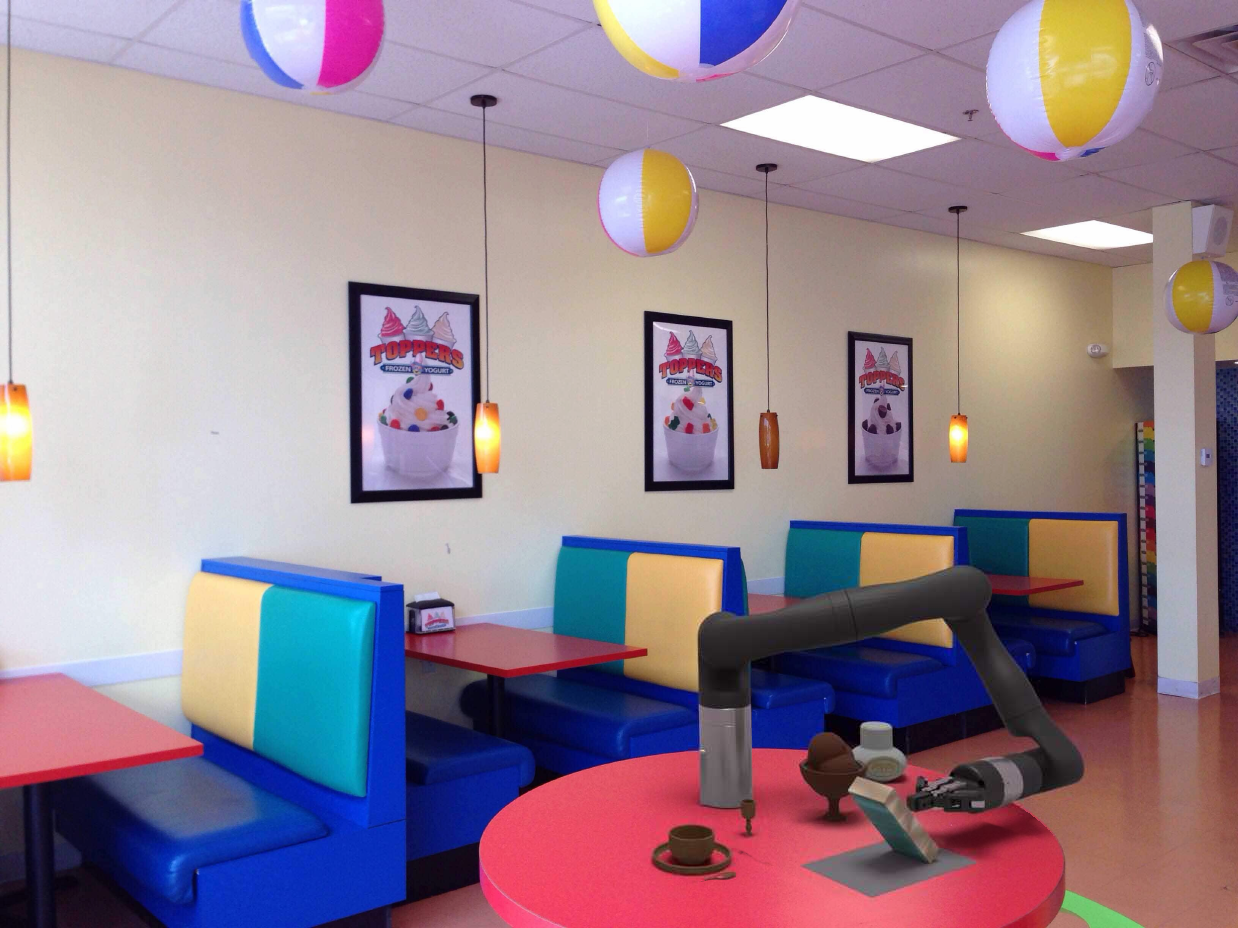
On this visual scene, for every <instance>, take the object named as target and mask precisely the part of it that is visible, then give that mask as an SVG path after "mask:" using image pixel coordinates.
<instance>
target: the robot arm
mask: <svg viewBox="0 0 1238 928" xmlns="http://www.w3.org/2000/svg"><path fill="white" fill-rule="evenodd" d="M992 595H993V587H992V583H991V580H990V579H989V578H988V576H987V574H985V573H984V572H983V571H982V570H980V569H978V568H976V567H973V566H971V565H964V564H959V565H953V566H950V567H947V568H945V569H941V570H939V571H938V570H937V571H936V572H935V571H934V572H932V573H929V574H925V575H921V576H918V577H915V578H911V579H906V580H901V581H895V582H885V583H877V584H870V585H869V584H868V585H863V586H858V587H857V586H856V587H849V588H844V589H838V590H835V591H834V590H833V591H829V592H828V591H827V592H824V593H821V594H817V595H814V596H810V597H807V598H805V599H802V600H800V601H797V602H794V603H792V604H790V605H788V606H785V607H782V608H779V609H777V610H772V611H769V612H762V613H758V614H756V613H755V614H748V615H740V616H739V615H737V614H735V613H734V612H733V613H732V612H729V611H722V610H721V611H716V612H712V613H711V614H708V615H707V616H706V617H705V618H704V619H703V620H702V621H701V623H700V625H699V628H698V630H697V637H696V639H697V643H696V644H697V678H698V679H697V681H698V682H697V684H698V721H699V723H698V724H699V725H698V726H699V750H698V765H699V767H698V768H699V770H698V771H699V773H698V774H699V777H698V778H699V804H700V805H701V806H702V805H703V806H709V807H712V808H713V807H714V808H719V809H720V808H721V809H735V808H741V800H743V799H753V800H754V795H753V793H754V788H753V787H754V786H753V783H754V782H753V747H752V745H753V740H752V707H751V706H752V703H751V702H752V701H751V698H752V697H751V692H752V691H751V680H750V679H751V676H750V662H753V661H757V660H760V659H763V658H767V657H770V656H774V655H778V654H782V653H788V652H798V651H805V650H811V649H813V650H814V649H818V648H827V647H833V646H837V645H838V646H839V645H843V644H850V643H855V642H858V641H859V642H860V641H862V640H867V639H870V638H874V637H877V636H880V635H882V634H886V633H889V632H891V631H893V630H897V629H899V628H901V627H905V626H907V625H911V624H915V623H919V622H923V621H932V620H938V619H939V620H940V619H941V620H943V622H944V623H945V624H946V625H947V627H948V629H949V630H950V631H951V632H952V634H953V635H954V636H955V638H956V639H957V641H958V642H959V645H961V647H962V648H963V650H964V652H965V653H966V654H967V656H968V659H969V660H970V662H971V663H972V665H973V667H974V668H975V671H976V673H977V674H978V676H979V679H980V681H981V682H982V684H983V686H984V688H985V690H986V693H987V694H988V695H989V698H990V700H991V702H992V704H993V706H994V708H995V709H996V711H997V713H998V715H999V717H1000V719H1001V721H1002V722H1003V725H1004V726H1005V728H1006V730H1007V731H1008V734H1010V735H1011V736H1012V737H1014V738H1030V739H1032V740H1033V741H1034V742H1035V743H1036V744H1037V745H1038V747H1034V748H1032V749H1028V750H1025V751H1022V752H1013V753H1007V754H1004V755H1000V756H992V757H985V758H981V759H977V760H973V761H969V762H965V763H961V764H958V765H956V766H955V767H953V768H952V770H951V771H950V773H949V775H948V776H943V777H940V778H937V779H935V780H934V781H929V780H928V779H926V776H923V775H920V776H917V777H916V782H915V792H914V793H913V794H912V793H911V794H908V795H907V796H906V805H907V807H908V808H909V809H910V811H911V812H912V813H920V812H923V811H927V810H933V811H938V810H939V811H940V810H942V811H943V812H945V813H968V814H972V815H977V814H982V813H985V812H988V811H990V810H994V809H998V808H1002V807H1004V806H1008V805H1010V804H1011V803H1013V802H1016V801H1020V800H1023V799H1025V798H1029V797H1031V796H1034V795H1038V794H1039V795H1040V794H1043V793H1046V792H1050V791H1054V790H1058V789H1061V788H1064V787H1068V786H1072V785H1075V784H1077V783H1079V782H1080V781H1082V779H1083V777H1084V774H1085V763H1084V758H1083V757H1082V754H1081V752H1080V750H1079V749H1078V748H1077V746H1076V745H1075V743H1074V742H1073V741H1072V739H1070V737H1068V735H1067V734H1065V732H1064V731H1063V730H1062V729H1061V728H1060V726H1059V725H1058V724H1057V723H1056V722H1055V721H1054V720H1053V719H1052V718H1051V716H1050V715H1049V714H1048V713H1047V711H1046V709H1045V708H1044V706H1043V704H1042V702H1041V700H1040V699H1039V697H1038V695H1037V692H1036V691H1035V689H1034V687H1033V686H1032V684H1031V682H1030V681H1029V680H1030V679H1029V678H1028V677H1027V675H1026V674H1025V672H1024V671H1023V670H1022V668H1021V667H1020V666H1019V664H1018V663H1017V662H1016V661H1015V659H1014V658H1013V656H1012V655H1011V654H1010V653H1009V652H1008V650H1007V649H1006V647H1005V646H1004V645H1003V642H1001V639H1000V638H999V637H998V635H997V633H996V631H995V630H994V627H993V626H992V623H991V620H990V617H989V615H988V613H987V610H986V608H987V606H988V605H989V603H990V601H991V599H992Z"/></svg>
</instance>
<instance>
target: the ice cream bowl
mask: <svg viewBox="0 0 1238 928" xmlns="http://www.w3.org/2000/svg"><path fill="white" fill-rule="evenodd" d="M852 750H853V749H852V747H850V746H849V745H848V744H847V743H846V742H845V741H844V739H842V738H841V737H840V736H839V735H837V734H836V733H835V732H831V731H830V732H825V731H823V732H820V733H817V734H816V735H814V736H813V737H812V738H811V739H810V741H809V743H808V746H807V757H806V758H805V759H804V760H802V761H800V762H799V763H798V766H799V772H800V774H801V776H802V778H803V781H804V782H805V783H806V784H807V785H808V786H809V787H810V788H811V789H812V790H813V791H814V792H815V793H817V795H820V796H821V797H824V798H826V799H827V802H828V811H826V812H824V813H823V814H821V815H820V816H818V818H817V821H820V820H823V821H825V822H826V821H827V822H829V823H841V822H846V821H847V820H849V817H848V816H847V815H846V814H844V813H843V812H841V811H840V802H841V799H842V798H847V797H848V796H851V795H850V792H849V791H848V790H849V788H850V787H851V785H852V784H853V782H854V781H855V779H856V778H857V776H858V777H861V778H865V776H866V772H867V766H866V765H865V764H864V763H863V762H861V761H860V760H855V758H854V754H853V752H852Z"/></svg>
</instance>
